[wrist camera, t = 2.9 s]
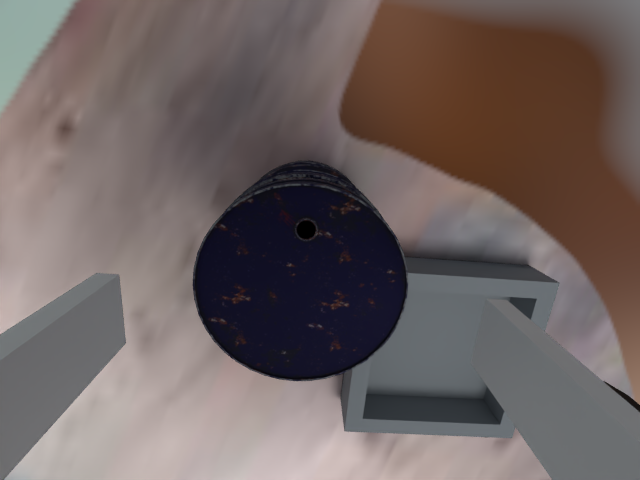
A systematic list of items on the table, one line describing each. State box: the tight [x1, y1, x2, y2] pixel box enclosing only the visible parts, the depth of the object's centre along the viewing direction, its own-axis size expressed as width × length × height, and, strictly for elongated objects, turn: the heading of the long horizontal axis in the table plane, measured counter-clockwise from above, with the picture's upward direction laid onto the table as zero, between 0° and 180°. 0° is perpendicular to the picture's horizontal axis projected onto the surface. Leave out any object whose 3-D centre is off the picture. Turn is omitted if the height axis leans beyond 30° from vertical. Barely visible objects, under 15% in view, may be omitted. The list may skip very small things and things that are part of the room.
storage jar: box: [193, 161, 408, 381], centre depth 22 cm, size 10×10×15 cm
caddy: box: [341, 257, 559, 438], centre depth 31 cm, size 16×16×4 cm
